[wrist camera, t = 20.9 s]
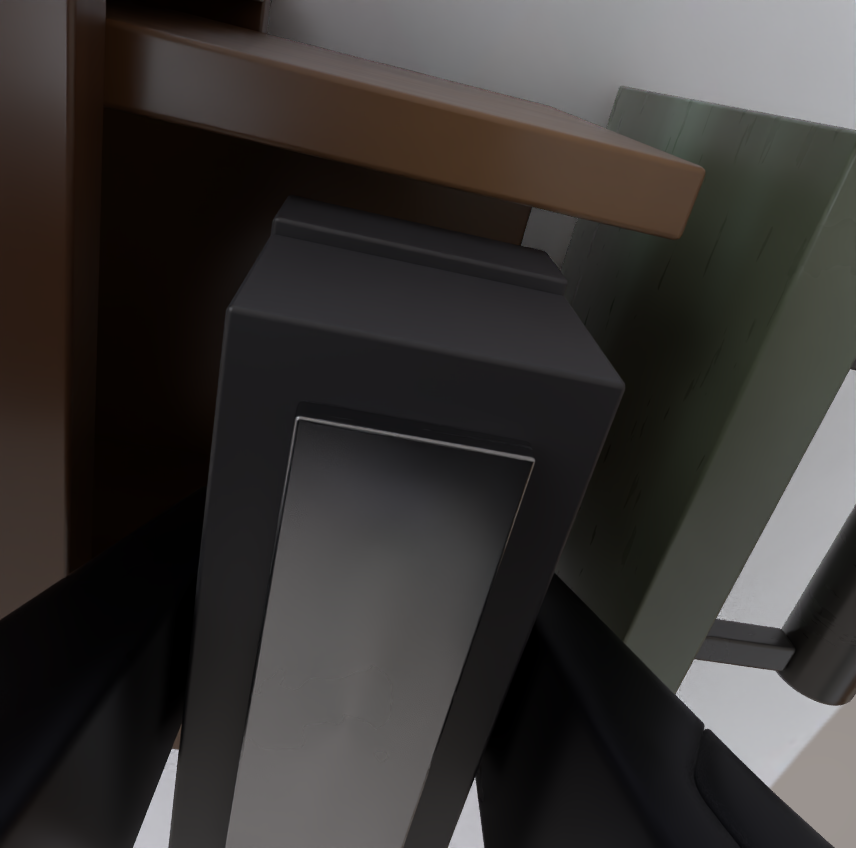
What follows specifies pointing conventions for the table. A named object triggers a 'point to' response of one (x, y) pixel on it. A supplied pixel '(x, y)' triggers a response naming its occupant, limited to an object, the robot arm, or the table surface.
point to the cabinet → (55, 276)
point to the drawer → (506, 221)
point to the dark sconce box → (377, 526)
